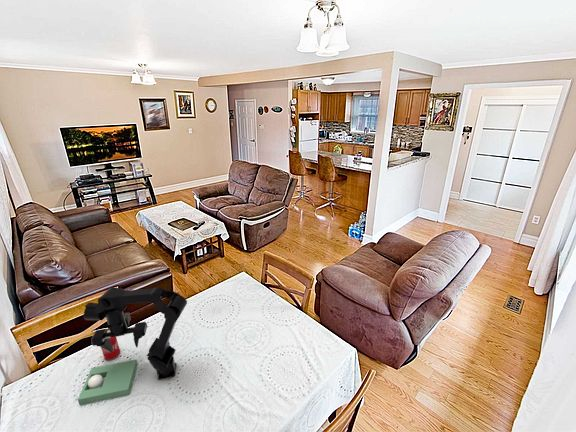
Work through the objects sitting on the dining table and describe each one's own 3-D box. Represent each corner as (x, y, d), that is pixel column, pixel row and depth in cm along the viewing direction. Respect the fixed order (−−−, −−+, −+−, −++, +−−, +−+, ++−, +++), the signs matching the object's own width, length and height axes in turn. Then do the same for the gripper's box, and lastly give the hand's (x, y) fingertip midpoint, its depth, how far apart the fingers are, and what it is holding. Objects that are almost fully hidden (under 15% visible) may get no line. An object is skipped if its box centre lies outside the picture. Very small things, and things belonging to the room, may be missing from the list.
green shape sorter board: (137, 364, 122) (136, 359, 121) (129, 394, 110) (127, 389, 109) (93, 373, 118) (91, 367, 117) (79, 405, 106) (77, 399, 105)
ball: (93, 382, 115) (106, 378, 116) (88, 393, 110) (102, 389, 111) (88, 373, 113) (102, 370, 114) (83, 385, 108) (97, 381, 109)
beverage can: (113, 362, 123) (106, 341, 119) (101, 359, 124) (94, 339, 120) (123, 350, 129) (117, 330, 124) (112, 348, 130) (105, 328, 126)
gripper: (146, 301, 119) (152, 330, 125) (96, 309, 115) (105, 338, 120) (140, 319, 109) (148, 349, 115) (85, 329, 105) (96, 360, 110)
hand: (125, 348), depth 115 cm, fingers open, 9 cm apart
